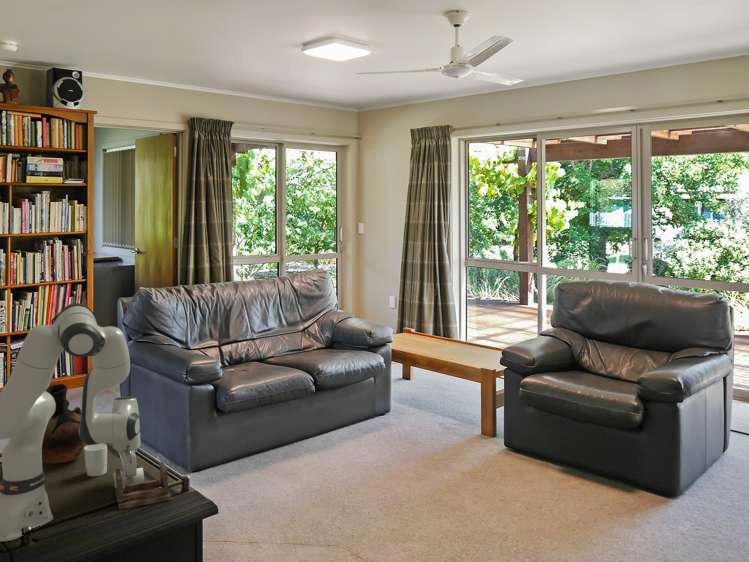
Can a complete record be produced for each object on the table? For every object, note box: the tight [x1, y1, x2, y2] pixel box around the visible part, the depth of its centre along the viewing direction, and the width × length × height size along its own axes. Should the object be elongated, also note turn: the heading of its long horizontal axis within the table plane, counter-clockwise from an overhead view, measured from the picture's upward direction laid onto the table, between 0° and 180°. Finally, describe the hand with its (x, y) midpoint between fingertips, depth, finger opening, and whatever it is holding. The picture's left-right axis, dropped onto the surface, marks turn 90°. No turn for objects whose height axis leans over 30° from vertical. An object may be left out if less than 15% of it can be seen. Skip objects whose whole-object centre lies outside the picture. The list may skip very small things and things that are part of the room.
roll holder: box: [114, 461, 171, 510], centre depth 230 cm, size 16×13×10 cm
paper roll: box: [113, 467, 145, 489], centre depth 240 cm, size 10×6×6 cm, turn 115°
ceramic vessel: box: [42, 383, 87, 464], centre depth 262 cm, size 21×18×30 cm
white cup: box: [83, 443, 108, 477], centre depth 251 cm, size 8×8×10 cm
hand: (129, 480), depth 240 cm, fingers closed on paper roll, 5 cm apart
